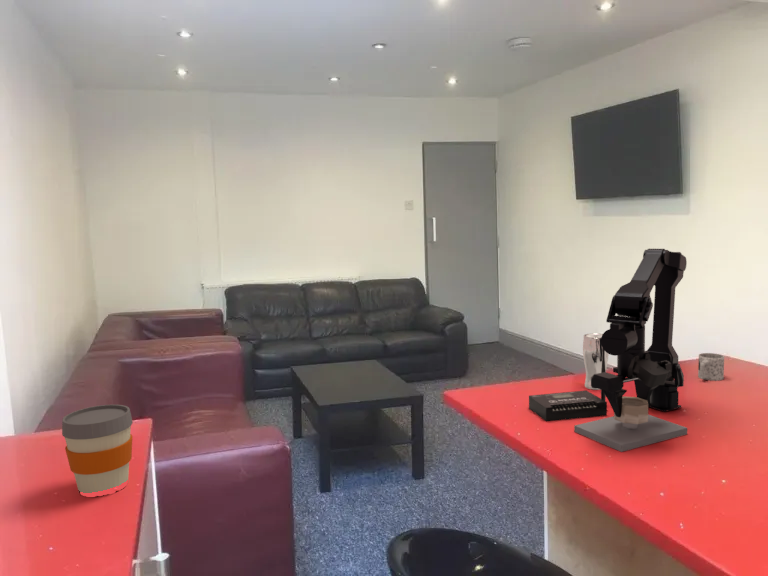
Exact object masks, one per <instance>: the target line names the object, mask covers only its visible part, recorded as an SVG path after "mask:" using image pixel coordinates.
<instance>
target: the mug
mask: <svg viewBox="0 0 768 576" xmlns="http://www.w3.org/2000/svg"><path fill="white" fill-rule="evenodd" d="M697 366H698V368H697V369H698V371H697V372H698V374H697V375H698V377H697V378H698V379H701V380H704V381H705V380H707V381H710V382H711V381H712V382H713V381H715V382H716V381H717V382H718V381H723V380H724V376H725V356H724V355H722V354H720V353H714V352H713V353H712V352H705V353H703V352H702V353H699V354H698V365H697Z"/></svg>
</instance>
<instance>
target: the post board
mask: <svg viewBox="0 0 768 576" xmlns="http://www.w3.org/2000/svg"><path fill="white" fill-rule="evenodd" d="M573 428H574V429H573V430H574V431H573V432H574V433H577V434H579V435H580V436H583V437H586V438H588V439H591V440H593V441H595V442H597V443H599V444H602V445H604V446H607V447H609V448H611V449H613V450H616V451H619V452H621V453H622V452H626V451H631V450H634V449H638V448H642V447H645V446H648V445H653V444H655V443H661V442H663V441H666V440H670V439H674V438H678V437H681V436H686V435H688V427H686V426H683V425H681V424H677V423H674V422H671V421H669V420H666V419H663V418H659V417H657V416H654V415H651V414H648V422H645V423H641V424H631V423H623V422H620V421H618V420H615V419H614V415H613V416H609V417H604V418H600V419H596V420H592V421H587V422H584V423H579V424H575V425H574V427H573Z"/></svg>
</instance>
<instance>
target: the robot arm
mask: <svg viewBox="0 0 768 576" xmlns="http://www.w3.org/2000/svg"><path fill="white" fill-rule="evenodd" d="M642 255H643V256H642V260H641V261H640V263H639V265H638V267H637V269H636V270H635V273H634V275H633V276H632V277H631V279H630V282H627V283H625V284H623V285H621V286H620V287H619V288H618V290H617V291H616V292H615V294H614V295H613V296H612V299H611V301H610V305H609V310H608V312H607V317H606V323H610V324H609V329H607V330H606V331H604V332H603V333H602V334H603V335H602V337H601V346H602V348H603V349H604V351H605V352H607V353H608V354H609V356H610V355H611V356H616V357H617V358H616V359H617V360H616V363H617V365H616V367H615V366H614V367H613V368H612V371H613V373H614V374H613V373H610V372H607V371H606V372H603V373H598V374H594V375H593V376H592V377H591V386H592V387H595V388H598V389H601V390H603V392H604V394H605V395H606V398H607V402H609V405H610V408H611V409H612V411H613V414H614V413H615V415H616V416H617V417H621V412H622V397H623V396H624V395H625V394H626V393H627V392H628V389H624V388H623V387H624V384H625V383H629V382H634V388H635V395H636V397H638V398H641V399H644V400H647V401H648V408H651V409H654V410H658V411H660V412H669V411H673V410H678V409H682V405H681V404H679V394H680V393H679V391H678V388H682V387H684V386H685V385H684V381H685V379H684V377H685V375H684V372H683V370H682V367H681V365H680V363H679V355H678V353H677V352H676V350H675V348H674V346H673V335H674V334H673V333H674V318H675V317H674V315H675V300H676V287H677V286H678V284H680V282H681V280H683V278H684V273H685V271H686V269H687V257H686V256H685V255H684V254H682V252H681V251H670V250H668V249H665V248H647V249H644V251H643V254H642ZM653 288H654V299H653V301H654V303H653V302H652V298H651V292H652V290H653ZM652 310H653V315H652V316H653V319H652V332H651V333H652V336H651V338H652V339H651V345H650V346H649V347H648V348H647V350H646V324H647V322H648V321H649V319H650V316H651V313H652ZM615 373H616V374H615ZM601 390H600V391H601Z"/></svg>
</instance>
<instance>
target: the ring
mask: <svg viewBox="0 0 768 576" xmlns="http://www.w3.org/2000/svg"><path fill="white" fill-rule="evenodd" d="M648 415H649V407H648V401H647V400H644V399H641V398H638V397H637V396H624V395H623V397H622V412H621V417H617V416H616V415H615V413H614V412H613V416H614V419H615V420H618V421H620V422H623V423H631V424H641V423H645V422H648Z"/></svg>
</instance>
